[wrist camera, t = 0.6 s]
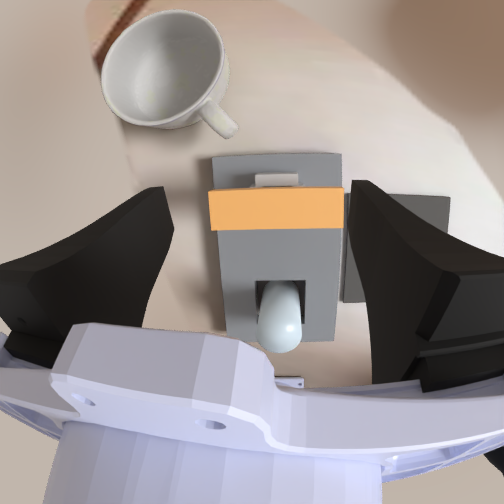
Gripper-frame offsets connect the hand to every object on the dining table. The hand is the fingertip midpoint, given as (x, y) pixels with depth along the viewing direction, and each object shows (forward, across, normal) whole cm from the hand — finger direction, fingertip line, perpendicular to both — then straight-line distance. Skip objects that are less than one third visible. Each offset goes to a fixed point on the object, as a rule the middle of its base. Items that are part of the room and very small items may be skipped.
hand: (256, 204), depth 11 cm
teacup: (+21, +8, -1) cm, 23 cm away
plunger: (+13, 0, +7) cm, 15 cm away
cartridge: (+13, 0, +19) cm, 23 cm away
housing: (+15, 0, +14) cm, 21 cm away
